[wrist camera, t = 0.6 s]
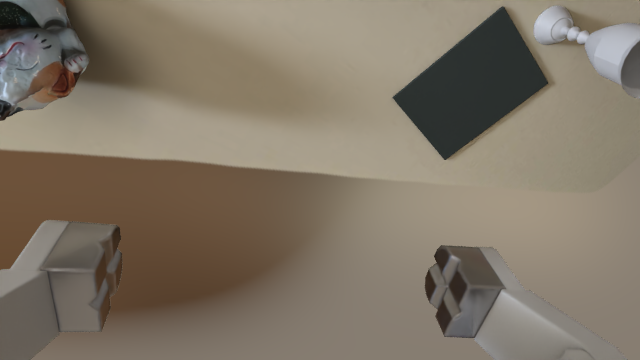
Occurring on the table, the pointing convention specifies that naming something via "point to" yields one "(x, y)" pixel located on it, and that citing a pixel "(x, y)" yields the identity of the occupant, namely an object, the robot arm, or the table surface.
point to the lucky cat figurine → (37, 55)
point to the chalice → (598, 46)
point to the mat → (472, 85)
